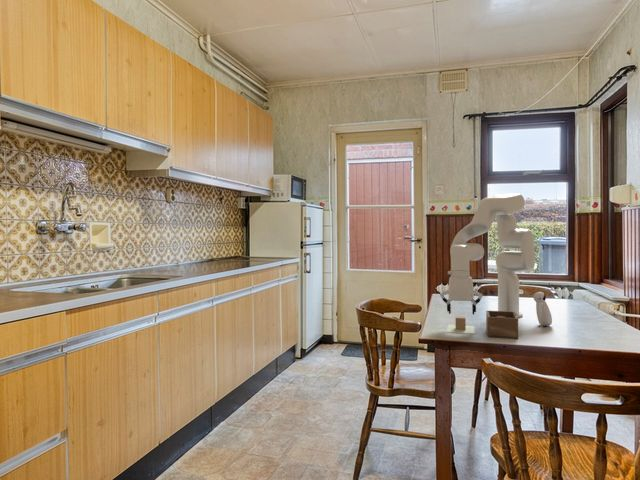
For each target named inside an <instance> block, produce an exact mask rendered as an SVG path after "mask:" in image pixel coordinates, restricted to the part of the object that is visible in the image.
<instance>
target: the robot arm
mask: <svg viewBox="0 0 640 480" xmlns="http://www.w3.org/2000/svg"><path fill="white" fill-rule="evenodd" d="M525 202H526V201H525V198H524V196H523V195H522V194H521V193H508V194H507V193H506V194H505V193H503V194H493V195H490V196H488V197H487V196H486V197H484V198H482V199H481V200H480V201H479V203H478V205H477V208H476V209H475V213H474V215H473V217H472V220H471V222H469V223H468V224H467V225H465V226H464V227H463V228H462V229H461V230H459V231H458V232H457V233H456V235H455V236H454V238H453V241H452V242H451V245H450V249H449V254H450V267H451V268H450V270H448V271H447V275H450V276H449V278H448V289H447V290H445V291H443V292H440V293H439V294H440V295H439V296H440V297H441V300H442V301H443V302H444V303H445V304H446V310H447V312H448V314H449V315H450V314H452V312H451V311H452V310H451V309H452V308H451V306H452V305H451V302H453V301H454V302H456V301H457V302H471V303H472V305H471V306H472V307H471V308H472V315H475V313H477V304H479V302H481V300H482V298H483V296H484V295H483V293H481V292H478V290H474V283H473V281H474V280H473V278H472V276H471V272H470V271H471V269H470V268H471V266H470V263H471V262H470V261H477V262H478V261H480V260H482V258H483V257H484V256H485V249H484V247H483V245H481V244H480V243H476V242H475V243H473V242H472V243H471V242H469V241H470V240H471V239H473V238H475V237H479V236H481V235H483V234H485V233H487V232H489V231H490V229H491V227H492V224H493V223H494V220H495V219H496V224H497V240H498V245H499V247H500V248H502V249H508V250H504V251H500V252H498V253H497V255H495V265H496V269H497V309H498V310H497V311H507V312H515V314H516V316H517V317H518V318H521V317H523V313H522V312H520V279H519V276H518V275H517V273H516V272H521V273H522V272H523V273H524V272H525V273H526V272H527V273H528V272H532V271H533V269H534V268H535V265H536V257H535V256H536V255H535V251H536V250H535V238H534V237H535V236H534V234H533V232H532V231H531V230H530V229H526V228H517V219H516V217H515V214H516V213H519V212H521V211H522V210H523V209H524V208H525V204H526V203H525ZM509 249H511V250H509ZM517 250H520V251H517ZM446 295H448V299H447V298H446V297H445V296H446ZM475 295H476V296H477V298H476V299H475Z"/></svg>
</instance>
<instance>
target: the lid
mask: <svg viewBox="0 0 640 480" xmlns="http://www.w3.org/2000/svg"><path fill="white" fill-rule="evenodd" d="M446 333H452V334H465V335H475V325H466V316H462V315H461V316H460V315H459V316H458V315H455V324H447V328H446Z"/></svg>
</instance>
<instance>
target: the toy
mask: <svg viewBox="0 0 640 480" xmlns="http://www.w3.org/2000/svg"><path fill="white" fill-rule="evenodd" d="M546 299H547V297H546V294H545V293H544V292H543V291H537V292H535V293H534V294H533V300H534V302H535V303H536V304H535V309H536V310H535V311H536V317H537V321H538V323H539V325H540V326H543V327H548V326H551V325H552V323H553V316H552V312H551V310H550V308H549V305H548V304H547V302H546Z"/></svg>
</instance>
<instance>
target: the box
mask: <svg viewBox="0 0 640 480" xmlns="http://www.w3.org/2000/svg"><path fill="white" fill-rule="evenodd" d="M485 312H486V313H485V315H486V318H485V319H486V322H485V323H486V324H485V325H486V335H487V337H488V338H495V339H496V338H497V339H509V340H511V339H512V340H519V317H517V316H516V314H515V312H507V311H498V310H486V311H485Z"/></svg>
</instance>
